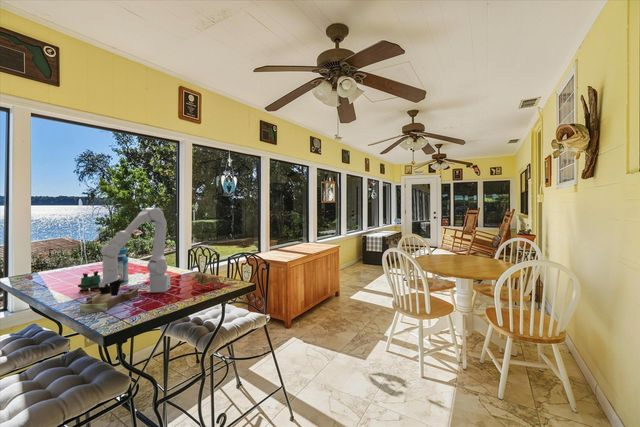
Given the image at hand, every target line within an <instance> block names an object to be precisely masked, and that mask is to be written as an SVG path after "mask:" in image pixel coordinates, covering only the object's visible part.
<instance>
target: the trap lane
mask: <svg viewBox="0 0 640 427" xmlns="http://www.w3.org/2000/svg"><path fill="white" fill-rule="evenodd" d="M127 291H128V292H127V293H119V294H118V295H117V296H114V297H113V296H112V294H111V293H110V294H111V297H113V298H111V300H110V301H108V302H106V303H105V304H92V297H94V296H96V295H98V294H101V292H100V291H98V292H96V293H94V294H92V295H89V296H88V297H86V298H85V299H86V301H85V302H83V303H81V304H79V312H80V313H87V312H88V313H89V312H91V313H92V312H93V313H94V312H95V313H96V312H106V311H108V310H110V309H112V308H113V307H115V306H116V305H118V304H120V303H121V302H123V301H131V300H132V299H133V298H135V297H137V296H138V295H139V288H135V286H132V287H130V288H128V290H127Z"/></svg>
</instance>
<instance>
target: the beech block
mask: <svg viewBox="0 0 640 427" xmlns="http://www.w3.org/2000/svg"><path fill="white" fill-rule="evenodd" d="M111 299H112V296H111V294H98V295H96V296H94V297H92V304H105V303H106V302H108V301H110V300H111Z"/></svg>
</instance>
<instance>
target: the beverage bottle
mask: <svg viewBox="0 0 640 427" xmlns="http://www.w3.org/2000/svg"><path fill="white" fill-rule="evenodd" d="M127 251H128V249H127V248H125V247H122V248H121V249H120V252H119V254H118V255H117V259H118V275H121V279H119V280H123V282H122V283H121V285H120V286H123V285H127V284H128V283H129V267H130V266H129V265H130V264H129V258H128V256H127V254H128V252H127Z"/></svg>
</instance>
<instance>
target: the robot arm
mask: <svg viewBox="0 0 640 427" xmlns="http://www.w3.org/2000/svg"><path fill="white" fill-rule="evenodd" d="M149 222H151V223H152V224H153V226H154V236H153V245H152V246H153V247H152V255H151V257H149V261H148V263H147V266H146V267H147V268H146V269H147V270H148V271H149V289H148V290H146V293H166V292H167V291H169V290H170V289H171V288H172V287H171V274H170V273H166V272H167V270H168V265H167V259H166V257H165V246H166V238H167V227H168V226H167V225H168V223H167V220H166V218H165V215H164V211H162V210H161V209H160V208H158V207H145V208H143V209H142V210H141V211H140V212H138V214H137V215H136V217H135V218H134V219H133V220H132V221H131V222H130V223H129V225H128V226H126V228H125V229H124V230H119V231H118V232H117V231H116V232H115V233H114V236H113V237H112V239H110V240H108V241H107V243H106V244H104V245H102V247H101V249H100V250H99V252H100V254H101V255H102V278H100V281H101V282H100V283H99V286H98V287H97V288H98V290H99V291H98V292H101V294H110V293H111V294H112V296H111V297H116V296H118V295H119V290H120V287H121V286H122V285H121V283H122V282H123V280H119V279H121V275H118V259H117V255H118V254H119V252H120V249H121V248H124V246H125V245H126V244H127V243H128V242H129V241H130V239H131V235H132V234H133V233H134V232H135V231H136V230H137V229H138V228H140V226H141V225H142V224H143V223H144V224H146V223H149Z"/></svg>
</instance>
